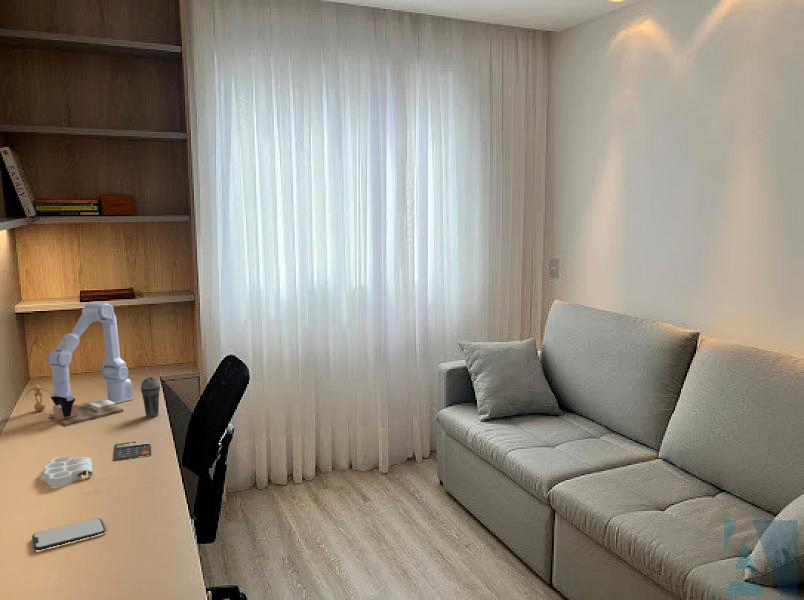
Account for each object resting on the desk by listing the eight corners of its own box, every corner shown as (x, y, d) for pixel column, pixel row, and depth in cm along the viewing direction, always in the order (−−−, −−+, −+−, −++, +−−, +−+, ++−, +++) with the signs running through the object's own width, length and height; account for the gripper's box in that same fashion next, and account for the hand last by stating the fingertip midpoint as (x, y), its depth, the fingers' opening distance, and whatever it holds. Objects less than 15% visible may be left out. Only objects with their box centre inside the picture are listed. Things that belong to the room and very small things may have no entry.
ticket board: (105, 403, 267) (104, 396, 266) (123, 411, 257) (122, 404, 256) (49, 417, 250) (49, 409, 250) (66, 426, 240) (65, 418, 240)
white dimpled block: (93, 482, 192) (38, 492, 186) (91, 461, 208) (40, 470, 202) (92, 472, 192) (37, 482, 185) (91, 451, 208) (39, 460, 201)
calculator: (113, 459, 207) (114, 443, 221) (113, 462, 207) (115, 446, 221) (151, 454, 212) (150, 438, 225) (151, 456, 212) (150, 441, 225)
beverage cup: (166, 414, 253) (162, 365, 250) (152, 419, 246) (148, 370, 243) (152, 411, 256) (149, 363, 253) (138, 417, 250) (134, 368, 246)
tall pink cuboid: (72, 412, 252) (71, 401, 251) (78, 415, 248) (77, 404, 248) (53, 417, 246) (52, 406, 246) (59, 419, 243) (58, 408, 242)
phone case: (101, 522, 169) (32, 539, 160) (100, 516, 169) (31, 533, 160) (106, 536, 161) (34, 555, 153) (106, 530, 161) (34, 549, 152)
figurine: (52, 408, 261) (49, 380, 259) (50, 412, 256) (48, 384, 254) (29, 410, 258) (26, 382, 256) (27, 415, 253) (24, 386, 251)
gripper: (42, 380, 246) (46, 413, 249) (57, 386, 237) (61, 421, 239) (61, 376, 252) (64, 409, 254) (77, 382, 242) (80, 416, 244)
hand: (64, 414), depth 247 cm, fingers closed on tall pink cuboid, 5 cm apart
